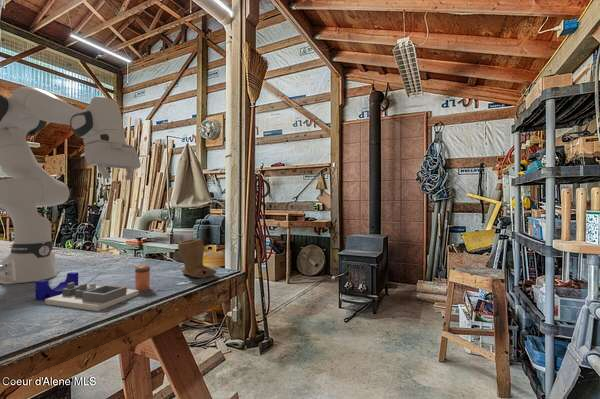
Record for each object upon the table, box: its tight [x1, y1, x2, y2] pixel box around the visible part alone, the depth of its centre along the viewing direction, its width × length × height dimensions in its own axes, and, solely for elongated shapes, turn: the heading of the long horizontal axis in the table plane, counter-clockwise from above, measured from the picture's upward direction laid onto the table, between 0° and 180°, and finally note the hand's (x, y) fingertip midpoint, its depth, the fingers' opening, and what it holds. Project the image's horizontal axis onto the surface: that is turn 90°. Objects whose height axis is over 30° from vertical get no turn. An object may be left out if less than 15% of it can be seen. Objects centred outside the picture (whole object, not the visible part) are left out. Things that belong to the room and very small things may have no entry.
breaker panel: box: [44, 282, 139, 312], centre depth 97 cm, size 20×15×5 cm
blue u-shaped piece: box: [34, 271, 79, 301], centre depth 102 cm, size 12×4×6 cm, turn 168°
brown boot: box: [177, 238, 217, 279], centre depth 127 cm, size 15×12×15 cm
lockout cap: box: [134, 264, 151, 292], centre depth 107 cm, size 5×5×8 cm
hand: (118, 179), depth 110 cm, fingers open, 8 cm apart
